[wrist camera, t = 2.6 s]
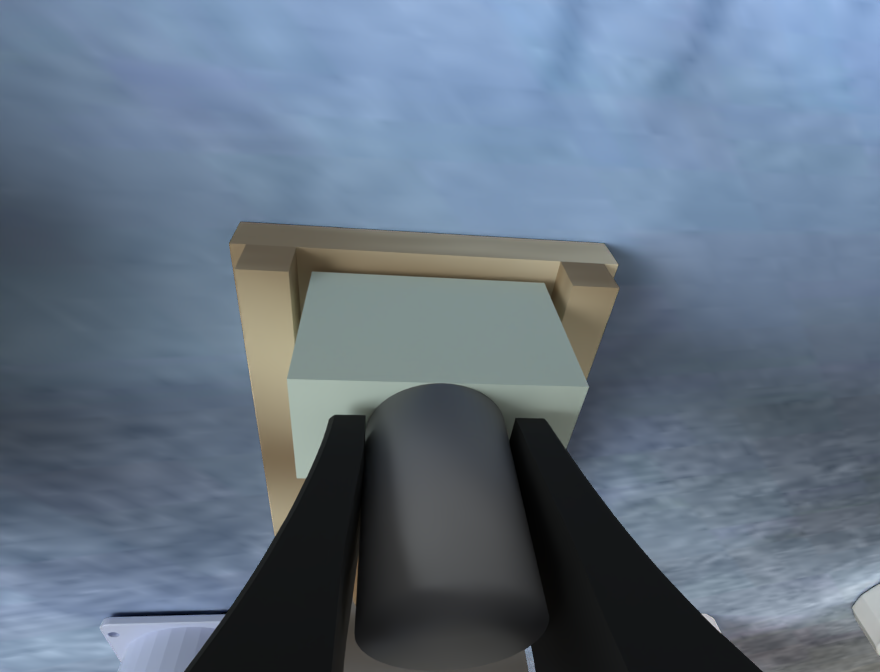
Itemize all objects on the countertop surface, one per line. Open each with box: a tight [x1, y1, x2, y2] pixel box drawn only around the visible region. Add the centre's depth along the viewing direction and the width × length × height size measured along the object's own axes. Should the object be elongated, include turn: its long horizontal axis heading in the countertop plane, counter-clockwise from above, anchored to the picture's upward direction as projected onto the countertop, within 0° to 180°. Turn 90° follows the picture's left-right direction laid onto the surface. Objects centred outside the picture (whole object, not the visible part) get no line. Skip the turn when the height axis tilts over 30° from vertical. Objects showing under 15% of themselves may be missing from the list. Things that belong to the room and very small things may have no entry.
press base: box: [229, 222, 619, 672], centre depth 17 cm, size 18×10×6 cm, turn 174°
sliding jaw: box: [287, 272, 589, 671], centre depth 11 cm, size 3×6×8 cm, turn 84°
